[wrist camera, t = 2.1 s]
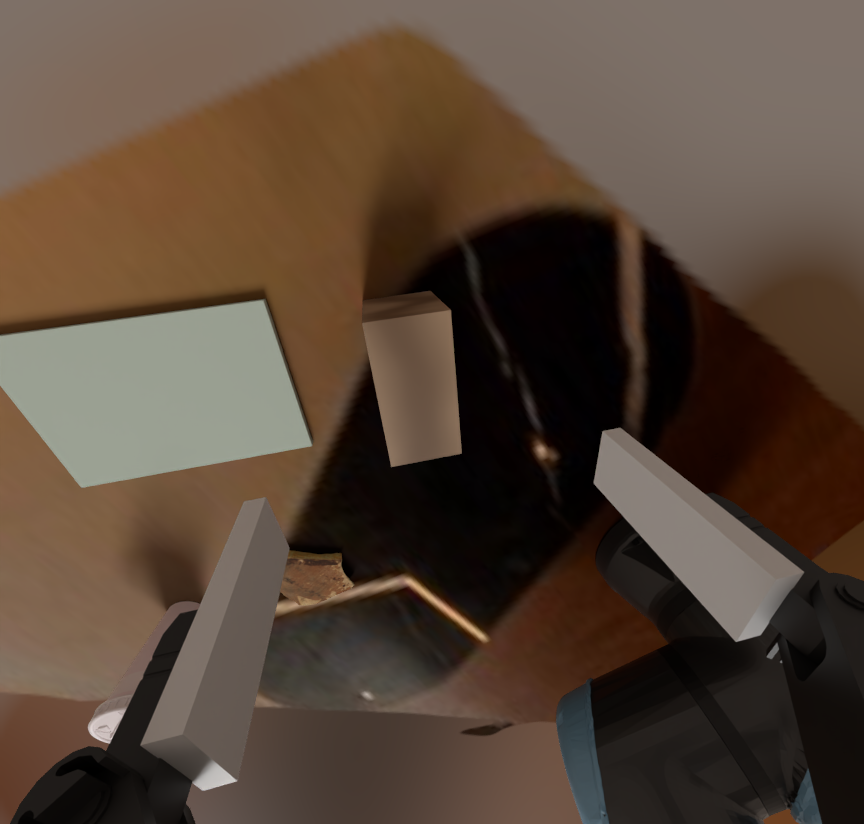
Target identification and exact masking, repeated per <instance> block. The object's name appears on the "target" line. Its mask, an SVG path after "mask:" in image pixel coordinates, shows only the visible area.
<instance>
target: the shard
mask: <svg viewBox="0 0 864 824" xmlns="http://www.w3.org/2000/svg"><path fill="white" fill-rule="evenodd" d="M353 586H354V583H353V582H352V581H351V580H350V579H349V578H348V577H347V576H346V575H345V573H344V572H343V569H342V554H341V553H333V554H313V553H307V552H299V551H291V550H289V553H288V558H287V562H286V566H285V571H284V575H283V580H282V584H281V589H280V592H281V593H283V594H284V595H285V596H286V597H288V598H289V599H291V600H294V601H295V602H296V603H298V604H299V605H310V604H316V603H319V602H321V601H324V600H327V599H328V598H331V597H333V596H335V595H337V594H339V593H341V592H344V591H347V590H349V589H351V588H352V587H353Z"/></svg>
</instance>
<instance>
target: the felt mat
mask: <svg viewBox="0 0 864 824" xmlns="http://www.w3.org/2000/svg"><path fill="white" fill-rule="evenodd" d="M0 386H1V387H2V388H3V390H4V391H5V392H6V393H7V395H8V396H9V397H10V398H11V400H12V401H13V402H14V403H15V405H16V406H17V407H18V408H19V410H20V411H21V412H22V413H23V415H24V416H25V417H26V419H27V420H28V421H29V422H30V424H31V425H32V426H33V427H34V429H35V430H36V431H37V432H38V434H39V435H40V436H41V437H42V439H43V440H44V441H45V442H46V444H47V445H48V446H49V447H50V449H51V450H52V451H53V453H54V454H55V455H56V456H57V458H58V459H59V460H60V461H61V463H62V464H63V465H64V466H65V468H66V469H67V470H68V471H69V473H70V474H71V475H72V476H73V478H74V479H75V480H76V481H77V483H78V484H79V485H80V487H81V488H83V487H88V486H94V485H99V484H105V483H110V482H116V481H122V480H127V479H133V478H138V477H144V476H149V475H155V474H160V473H166V472H171V471H177V470H182V469H188V468H193V467H199V466H204V465H210V464H215V463H221V462H227V461H232V460H238V459H243V458H249V457H254V456H260V455H265V454H271V453H276V452H282V451H287V450H293V449H298V448H304V447H309V446H312V444H313V440H312V437H311V434H310V431H309V428H308V425H307V422H306V419H305V416H304V413H303V410H302V407H301V404H300V401H299V398H298V395H297V392H296V389H295V386H294V383H293V380H292V377H291V374H290V371H289V368H288V365H287V362H286V359H285V356H284V353H283V350H282V347H281V344H280V341H279V338H278V335H277V332H276V329H275V326H274V323H273V320H272V317H271V314H270V311H269V308H268V305H267V302H266V299H260V300H252V301H245V302H238V303H230V304H223V305H216V306H208V307H201V308H194V309H186V310H179V311H171V312H164V313H157V314H149V315H142V316H135V317H127V318H120V319H113V320H105V321H98V322H91V323H83V324H76V325H68V326H61V327H54V328H46V329H39V330H32V331H24V332H17V333H10V334H2V335H0Z"/></svg>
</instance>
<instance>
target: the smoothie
mask: <svg viewBox="0 0 864 824" xmlns="http://www.w3.org/2000/svg"><path fill="white" fill-rule="evenodd" d="M199 606H200V604H199V603H196V602H191V601H183V602H178V603H175V604H173V605H171V606H170V607H169V609H168V610H167V612H166V613H165V615H164V616H163V618H162V619H161V621H160V622H159V624H158V625H157V627H156V628H155V629H154V631H153V632H152V634H151V635H150V637H149V638H148V640H147V641H146V643H145V644H144V646H143V647H142V649H141V650H140V652H139V653H138V655H137V656H136V658H135V659H134V661H133V662H132V664H131V665H130V667H129V668H128V670H127V671H126V673H125V674H124V676H123V677H122V679H121V680H120V681H119V683H118V684H117V686H116V687H115V689H114V690H113V692H112V693H111V695H110V696H109V698H108V700H107V701H106V702H104V703H102V704H101V705H99V707H98V708H97V709H96V710H95V713H94V716H93V718H92V719H91V721H90V723H89V725H88V730H89V732H90V734H91V735H92V736H93V737H95V738H96V739H98V740H100V741H103V742H106V743H110V742H111V740H112V738H113V736H114V734H115V732H116V730H117V728H118V725H119V723H120V721H121V719H122V717H123V715H124V713H125V711H126V709H127V707H128V705H129V703H130V701H131V699H132V697H133V695H134V693H135V691H136V688H137V686H138V684H139V682H140V680H142V679H143V674H144V672H145V670H146V668H147V666H148V664H149V662H150V661H152V656H153V654H154V651H155V649H156V647H157V645H158V643H159V641H160V639H161V637H162V635H163V633H164V632H165V631H166V630H167V629H168V627H169V626H170V625H171V624H172V622H173V621H174V620H175V619H176V618H177V616H178V615H179V614H180V613H184V612H188V611H193V610H197V609H198V608H199Z"/></svg>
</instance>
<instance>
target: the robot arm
mask: <svg viewBox="0 0 864 824" xmlns="http://www.w3.org/2000/svg"><path fill="white" fill-rule="evenodd" d="M594 484H595V485H596V487H597V488H598V489H599V490H600V491H601V492H602V493H603V494H604V496H605V497H606V498H607V499H608V500H609V501H610V502H611V503H612V504H613V506H614V507H615V508H616V509H617V510H618V511H619V512H620V513H621V514H622V516H623V517H624V518H623V519H622V520H621V521H620V522H618V523H617V524H616V525H615V526H614V527H613V528H612V529H611V530H610V531H609V532H608V534H607V535H606V536H605V537H604V539H603V540H602V542H601V544H600V546H599V548H598V551H597V554H596V566H597V569H598V571H599V572H600V574H601V575H602V576H603V578H604V579H605V581H606V582H607V584H608V585H609V586H610V587H611V588H612V589H613V590H614V591H615V592H617V593H618V594H620V595H621V596H622V597H623V598H624V599H625V600H626V601H628V602H629V603H630V604H631V605H632V606H633V607H635V608H636V609H637V610H638V611H639V612H641V613H642V614H643V615H644V616H645V617H647V618H648V619H649V620H650V621H651V622H652V623H653V624H654V625H655V626H656V627H657V629H658V630H659V631H660V633H661V634H662V636H663V637H664V638H665V640H666V641H667V642H668V645H665V646H663V647H661V648H659V649H657V650H655V651H653V652H651V653H648V654H646V655H644V656H642V657H640V658H638V659H636V660H634V661H632V662H630V663H627V664H625V665H623V666H621V667H619V668H617V669H615V670H613V671H611V672H609V673H606V674H604V675H602V676H600V677H598V678H596V679H594V680H593V679H591V678H590V679H588V680H587V681H586V683H585V684H584V685H582V686H580V687H578V688H576V689H575V690H573V691H571V692H569V693H568V694H566V695H564V696H563V697H562V698H561V700H560V701H559V703H558V706H557V712H556V723H557V731H558V738H559V743H560V748H561V752H562V756H563V760H564V765H565V769H566V772H567V776H568V779H569V783H570V786H571V789H572V793H573V796H574V799H575V802H576V805H577V808H578V811H579V814H580V817H581V820H582V822H583V824H764V822H763V819H765V818H767V817H769V816H770V815H773V814H775V813H778V812H780V811H783V810H786V809H790V810H791V815H792V816H793V818H794V819H795V821H796V822H798V823H800V824H864V581H862V580H859V579H856V578H854V577H851V576H848V575H843V574H838V573H828V572H826V571H825V570H823V569H822V568H820V567H819V566H818V565H816V564H815V563H814V562H812V561H811V560H810V559H808V558H807V557H806V556H804V555H803V554H802V553H800V552H799V551H798V550H796V549H795V548H794V547H792V546H791V545H790V544H788V543H787V542H785V541H784V540H783V539H781V538H780V537H779V536H777V535H776V534H775V533H773V532H772V531H771V530H769V529H768V528H765V527H764V525H763V524H761V523H760V522H759V521H757V520H756V519H755V518H753V517H752V518H751V517H750V515H749V514H748V513H747V512H745V511H744V510H743V509H741V508H740V507H739V506H737V505H736V504H735V503H733V502H731V501H729V500H727V499H725V498H723V497H721V496H719V495H717V494H715V493H708V494H704V493H703V492H702V491H700V490H699V489H698V488H696V487H695V486H694V485H693V484H691V483H690V482H689V481H688V480H686V479H685V478H684V477H682V476H681V475H680V474H679V473H677V472H676V471H675V470H673V469H672V468H671V467H670V466H668V465H667V464H666V463H665V462H663V461H662V460H661V459H659V458H658V457H657V456H656V455H654V454H653V453H652V452H651V451H649V450H648V449H647V448H645V447H644V446H643V445H642V444H640V443H639V442H638V441H636V440H635V439H634V438H633V437H631V436H630V435H629V434H628V433H626V432H625V431H624V430H622V429H621V428H616V429H611V430H606V431H603V432H602V438H601V444H600V449H599V455H598V461H597V466H596V472H595V478H594ZM289 549H290V548H289V546H288V543H287V541H286V539H285V537H284V535H283V533H282V531H281V528H280V526H279V524H278V522H277V520H276V518H275V515H274V513H273V511H272V509H271V507H270V505H269V503H268V500H267V498H266V497H265V498H260V499H254V500H249V501H244V503H243V505H242V508H241V510H240V512H239V515H238V517H237V519H236V522H235V524H234V526H233V529H232V531H231V533H230V536H229V538H228V540H227V543H226V545H225V547H224V550H223V552H222V554H221V557H220V559H219V562H218V564H217V566H216V569H215V571H214V573H213V576H212V578H211V580H210V583H209V585H208V587H207V590H206V592H205V594H204V597H203V599H202V601H201V604H200V606H199V608H198V609H197V610H193V611H188V612H184V613H180V614H179V615H178V616H177V618H176V619H175V620H174V621H173V622H172V624H171V625H170V626H169V627H168V629H167V630H166V631H165V632H164V633H163V635H162V637H161V639H160V641H159V643H158V645H157V647H156V649H155V651H154V654H153V656H152V661H150V662H149V664H148V666H147V668H146V670H145V672H144V674H143V679H142V680H140V682H139V684H138V686H137V688H136V691H135V693H134V695H133V697H132V699H131V701H130V703H129V705H128V707H127V709H126V711H125V713H124V715H123V717H122V719H121V721H120V723H119V725H118V728H117V730H116V732H115V734H114V736H113V738H112V740H111V742H110V744H109V746H108V748H107V750H106V751H105V750H103V749H102V748H99V747H90V746H88V747H86V748H83V749H80V750H78V751H75V752H73V753H71V754H70V755H68V756H67V757H65V758H64V759H62V760H61V761H59V762H58V763H56V764H55V765H54V766H53V767H52V768H51V769H50V770H49V771H48V772H47V773H46V774H45V775H44V776H43V777H41V778H40V780H38V781H37V782H36V784H35V785H34V787H33V788H32V789H31V790H30V792H29V793H28V794H27V796H26V797H25V798H24V799H23V801H22V802H21V803H20V805H19V807H18V809H17V811H16V813H15V815H14V817H13V819H12V821H11V823H10V824H195V821H194V818H193V816H192V813H191V810H190V809H189V807H188V806H187V805H186V801H187V797H188V794H189V791H190V787H191V784H192V783H193V784H194V785H196V786H197V787H199V788H200V789H201V790H203V791H204V790H207V789H211V788H214V787H218V786H222V785H225V784H229V783H232V782H236V781H238V777H239V772H240V768H241V763H242V758H243V754H244V750H245V745H246V741H247V736H248V732H249V727H250V723H251V718H252V714H253V709H254V705H255V701H256V696H257V692H258V687H259V683H260V678H261V674H262V669H263V665H264V660H265V656H266V651H267V647H268V642H269V638H270V634H271V629H272V625H273V620H274V616H275V611H276V607H277V602H278V598H279V593H280V589H281V584H282V580H283V575H284V571H285V566H286V562H287V558H288V553H289Z"/></svg>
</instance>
